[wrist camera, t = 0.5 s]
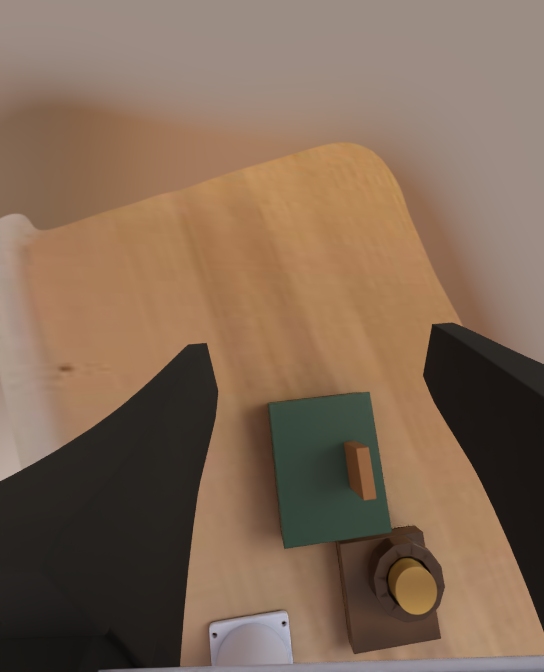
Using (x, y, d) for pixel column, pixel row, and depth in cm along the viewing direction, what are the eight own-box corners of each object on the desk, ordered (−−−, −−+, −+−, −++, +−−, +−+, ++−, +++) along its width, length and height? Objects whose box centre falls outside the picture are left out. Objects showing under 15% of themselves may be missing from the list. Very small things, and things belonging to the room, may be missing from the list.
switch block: (436, 626, 35) (456, 652, 31) (349, 641, 34) (359, 669, 31) (418, 524, 36) (436, 538, 33) (335, 537, 36) (344, 552, 32)
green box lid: (368, 391, 36) (385, 391, 31) (390, 530, 34) (412, 552, 29) (268, 403, 35) (270, 405, 30) (284, 546, 33) (289, 571, 28)
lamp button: (430, 599, 32) (441, 611, 31) (391, 606, 32) (399, 618, 30) (423, 555, 33) (432, 563, 31) (384, 561, 33) (392, 570, 31)
